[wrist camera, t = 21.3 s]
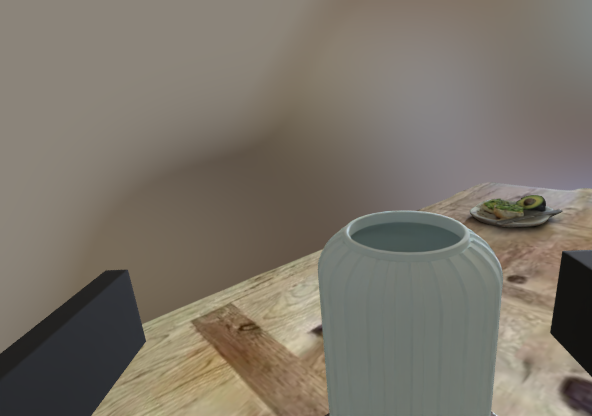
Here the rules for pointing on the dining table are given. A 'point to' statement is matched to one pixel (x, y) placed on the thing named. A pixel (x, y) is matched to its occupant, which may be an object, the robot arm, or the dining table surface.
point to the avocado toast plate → (514, 212)
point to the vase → (409, 317)
